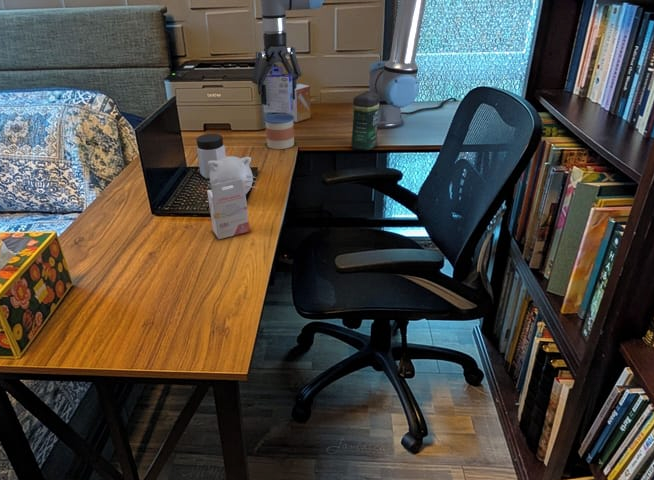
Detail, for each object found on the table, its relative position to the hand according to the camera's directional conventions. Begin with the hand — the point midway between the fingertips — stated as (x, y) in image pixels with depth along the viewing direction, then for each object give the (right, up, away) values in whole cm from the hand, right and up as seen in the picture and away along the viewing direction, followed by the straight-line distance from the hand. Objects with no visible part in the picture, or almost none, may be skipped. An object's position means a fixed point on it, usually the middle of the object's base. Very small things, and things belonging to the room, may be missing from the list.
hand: (278, 101), depth 174 cm
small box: (+8, +4, +34) cm, 35 cm away
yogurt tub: (+1, -13, +9) cm, 15 cm away
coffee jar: (+31, -15, +3) cm, 34 cm away
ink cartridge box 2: (0, -3, +2) cm, 4 cm away
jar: (-21, -28, -12) cm, 37 cm away
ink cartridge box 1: (-11, -49, -45) cm, 68 cm away
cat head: (-13, -38, -28) cm, 48 cm away
